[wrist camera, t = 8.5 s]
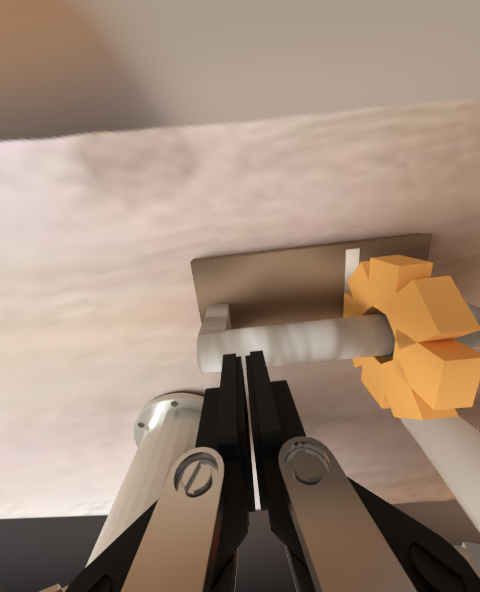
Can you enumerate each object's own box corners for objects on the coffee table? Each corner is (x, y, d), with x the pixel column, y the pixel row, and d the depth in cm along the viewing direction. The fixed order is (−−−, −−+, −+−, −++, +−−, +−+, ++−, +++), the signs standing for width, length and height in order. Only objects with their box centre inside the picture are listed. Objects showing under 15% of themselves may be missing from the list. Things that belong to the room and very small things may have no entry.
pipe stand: (403, 342, 25) (488, 405, 17) (211, 361, 26) (198, 431, 17) (418, 233, 22) (538, 242, 13) (193, 259, 22) (164, 284, 14)
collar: (360, 353, 24) (457, 459, 13) (341, 355, 24) (422, 462, 13) (368, 248, 20) (508, 279, 10) (345, 250, 20) (460, 284, 10)
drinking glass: (383, 425, 30) (517, 615, 15) (402, 383, 27) (580, 560, 13) (431, 430, 30) (605, 622, 16) (454, 390, 28) (681, 569, 14)
